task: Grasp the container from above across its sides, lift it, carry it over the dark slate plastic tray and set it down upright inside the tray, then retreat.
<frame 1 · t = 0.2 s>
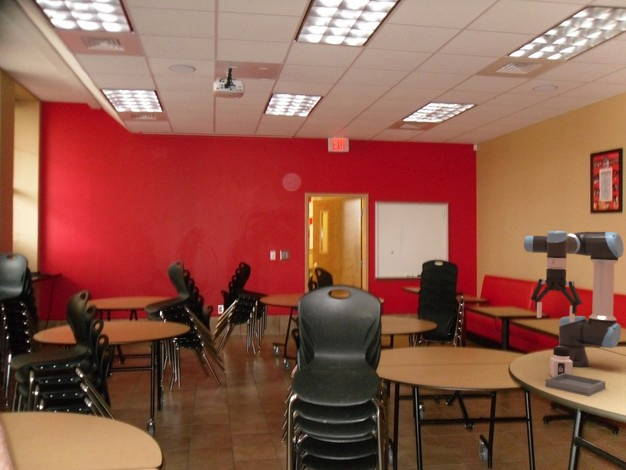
hand: (555, 319, 228), 27 cm above the table, fingers open, 13 cm apart
tray: (575, 387, 226), on the table
container: (560, 376, 244), on the table
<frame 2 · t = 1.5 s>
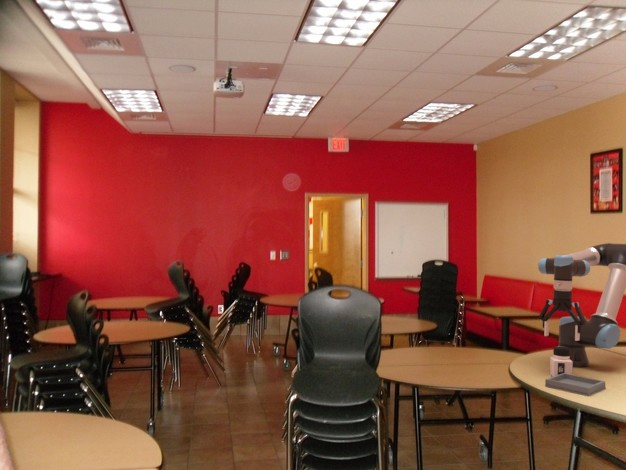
hand: (561, 338, 244), 17 cm above the table, fingers open, 13 cm apart
nothing on the table moved.
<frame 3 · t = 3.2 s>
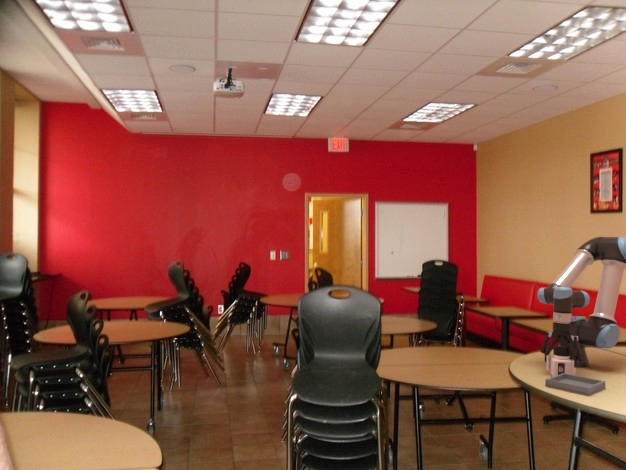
hand: (561, 372, 244), 2 cm above the table, fingers closed on container, 10 cm apart
container: (560, 376, 244), on the table, touching gripper
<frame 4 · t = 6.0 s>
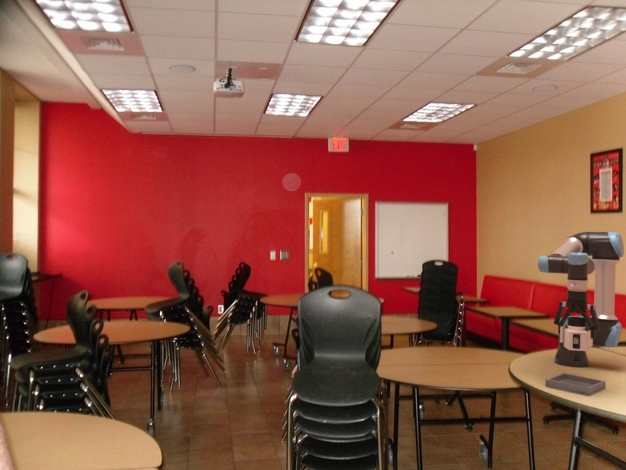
hand: (576, 344, 226), 18 cm above the table, fingers closed on container, 10 cm apart
container: (575, 349, 226), point 16 cm above the table, touching gripper
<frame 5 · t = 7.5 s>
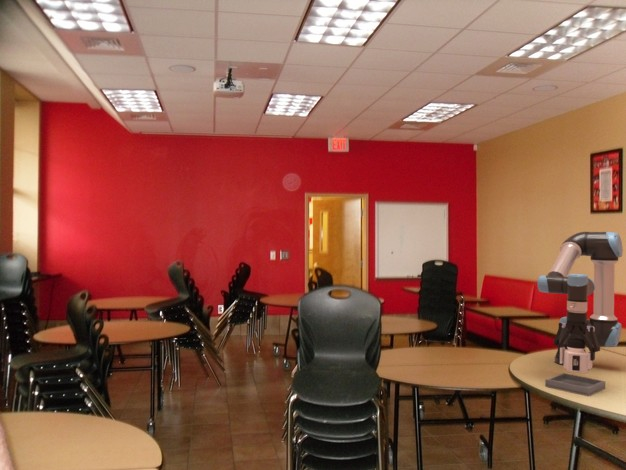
hand: (575, 365, 226), 9 cm above the table, fingers closed on container, 10 cm apart
container: (575, 370, 226), point 7 cm above the table, touching gripper
when the fingers open (4 cm above the table, at t = 9.0 s): container drops 1 cm, resting on tray.
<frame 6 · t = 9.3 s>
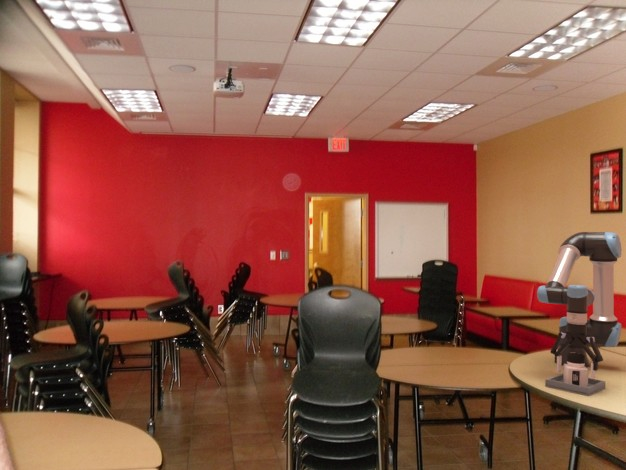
hand: (575, 374, 226), 5 cm above the table, fingers open, 13 cm apart
container: (575, 385, 226), point 1 cm above the table, touching tray
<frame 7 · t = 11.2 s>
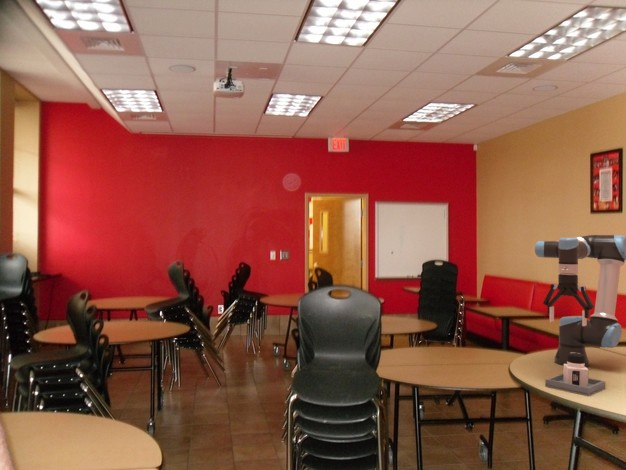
hand: (567, 323, 235), 25 cm above the table, fingers open, 13 cm apart
nothing on the table moved.
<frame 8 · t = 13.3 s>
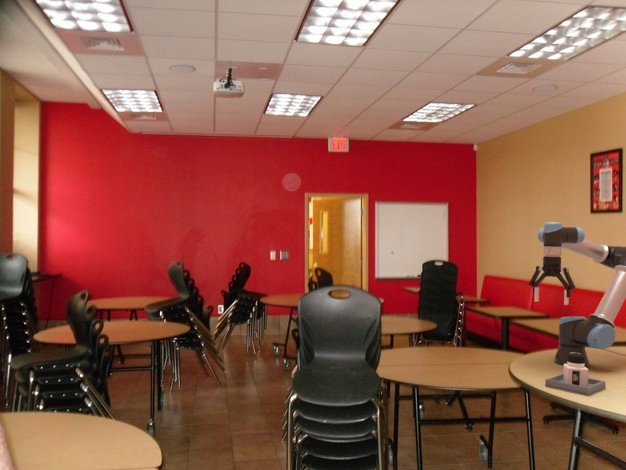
hand: (551, 303, 250), 32 cm above the table, fingers open, 13 cm apart
nothing on the table moved.
at the end: container inside the target area on the tray (0.0 cm from its centre), point 0.8 cm above the tray's base; container tilted 0°; the gripper is holding nothing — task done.
